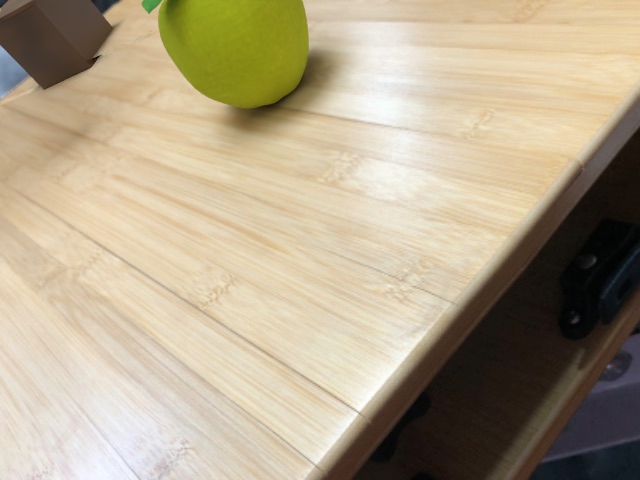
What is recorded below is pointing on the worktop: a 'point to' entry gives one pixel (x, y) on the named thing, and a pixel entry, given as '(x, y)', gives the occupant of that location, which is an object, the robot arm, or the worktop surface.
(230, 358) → the worktop surface
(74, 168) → the worktop surface
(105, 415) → the worktop surface
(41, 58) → the walnut box
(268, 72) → the fruit
